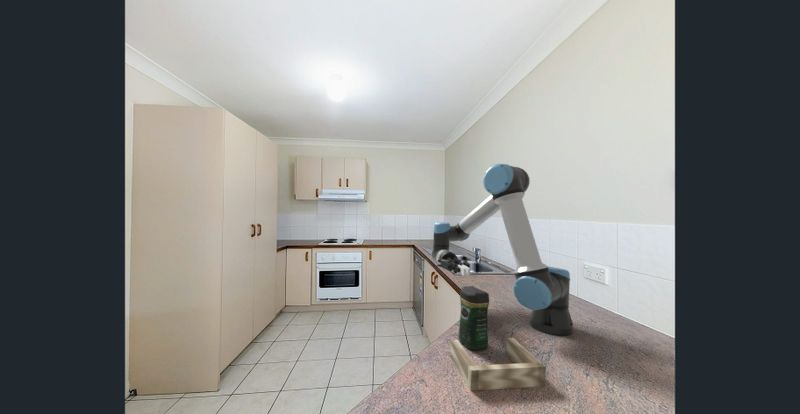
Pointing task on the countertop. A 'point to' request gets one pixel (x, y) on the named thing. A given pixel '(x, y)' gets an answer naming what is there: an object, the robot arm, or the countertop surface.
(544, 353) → the countertop surface
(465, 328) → the coffee jar
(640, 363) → the countertop surface
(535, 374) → the u-shaped wooden molding
